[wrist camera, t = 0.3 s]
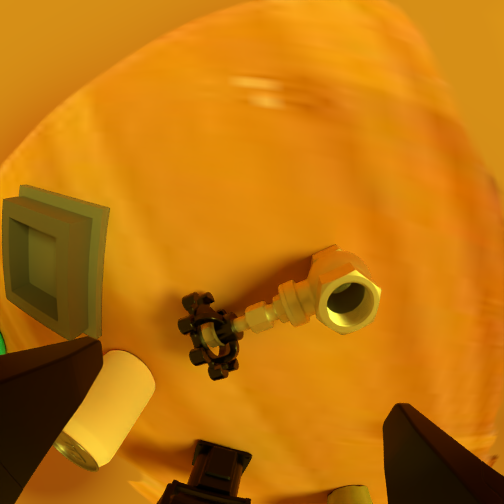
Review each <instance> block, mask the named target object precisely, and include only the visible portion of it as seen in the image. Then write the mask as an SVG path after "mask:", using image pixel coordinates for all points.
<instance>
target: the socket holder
mask: <svg viewBox="0 0 504 504" xmlns="http://www.w3.org/2000/svg"><path fill="white" fill-rule="evenodd" d="M109 210H110V208H108V207H104V206H101V205H97V204H94V203H90V202H86V201H83V200H79V199H76V198H72V197H69V196H65V195H62V194H58V193H54V192H51V191H47V190H44V189H40V188H36V187H33V186H29V185H20V190H19V197H13V198H6V199H3V209H2V255H3V271H4V282H5V291H6V298H7V299H8V300H9V301H11V302H12V303H13V304H15V305H16V306H17V307H19V308H20V309H21V310H23V311H24V312H26V313H27V314H28V315H30V316H31V317H33V318H34V319H36V320H37V321H39V322H40V323H42V324H43V325H45V326H46V327H48V328H49V329H51V330H52V331H54V332H56V333H57V334H59V335H61V336H62V337H64V338H66V339H67V340H69V341H70V340H74V339H75V338H76V337H77V336H79V335H80V334H81V333H85V334H86V335H88V336H90V337H93V338H95V339H98V338H99V337H100V336H101V335H102V325H101V313H102V280H103V264H104V252H105V242H106V233H107V225H108V217H109Z"/></svg>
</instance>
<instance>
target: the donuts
mask: <svg viewBox="0 0 504 504" xmlns="http://www.w3.org/2000/svg"><path fill="white" fill-rule="evenodd" d="M3 354H6V349H5V344H4V340H3V338H2V335H1V333H0V355H3Z"/></svg>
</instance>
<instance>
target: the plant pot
mask: <svg viewBox="0 0 504 504" xmlns="http://www.w3.org/2000/svg"><path fill="white" fill-rule="evenodd" d="M327 504H373V502H372V500H371V497H370V494H369V491H368V488H367V487H366V486H355V485H351V486H346V487H342V488H339V489H336V490H334V491H333V492H332V493H331V494H330V495H328V499H327Z"/></svg>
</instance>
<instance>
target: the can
mask: <svg viewBox="0 0 504 504" xmlns="http://www.w3.org/2000/svg"><path fill="white" fill-rule="evenodd" d="M154 391H155V381H154V378H153V376H152V373H151V371H150V370H149V368H148V367H147V366H146V365H145V364H144V363H143V362H142V361H141V360H140V359H139V358H138V357H136V356H135V355H133V354H131V353H129V352H126V351H121V350H111V351H109V352H107V353H106V354H105V355H104V356H103V367H102V369H101V371H100V373H99V374H98V376H97V378H96V379H95V381H94V383H93V385H92V386H91V388H90V390H89V392H88V394H87V395H86V397H85V399H84V400H83V402H82V404H81V405H80V406H79V408H78V409H77V411H76V412H75V413H74V415H73V416H72V418H71V419H70V420H69V422H68V423H67V425H66V426H65V427H64V429H63V430H62V432H61V433H60V435H59V436H58V437H57V439H56V440H55V442H54V443H53V446H54V447H55V448H56V449H57V450H58V451H59V452H60V453H61V454H63V455H64V456H65V457H66V458H67V459H69V460H70V461H71V462H73V463H74V464H76V465H78V466H79V467H81V468H83V469H86V470H88V471H91V472H97V471H98V470H99V467H100V466H102V465H105V464H107V463H108V462H109V461H110V460H111V459H112V458H113V456H114V455H115V453H116V452H117V450H118V449H119V447H120V445H121V444H122V442H123V441H124V439H125V438H126V436H127V434H128V433H129V431H130V430H131V428H132V427H133V425H134V423H135V422H136V420H137V419H138V417H139V415H140V414H141V412H142V411H143V409H144V408H145V406H146V404H147V403H148V401H149V400H150V398H151V396H152V395H153V393H154Z"/></svg>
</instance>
